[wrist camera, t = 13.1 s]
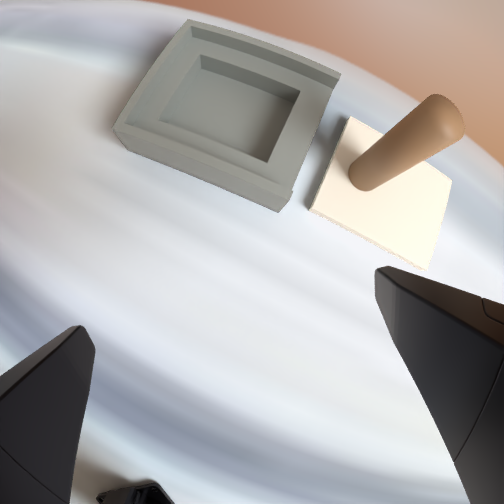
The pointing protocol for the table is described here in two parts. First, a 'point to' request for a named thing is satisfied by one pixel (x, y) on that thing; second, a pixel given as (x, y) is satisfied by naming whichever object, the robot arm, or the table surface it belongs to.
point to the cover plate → (392, 181)
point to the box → (228, 111)
